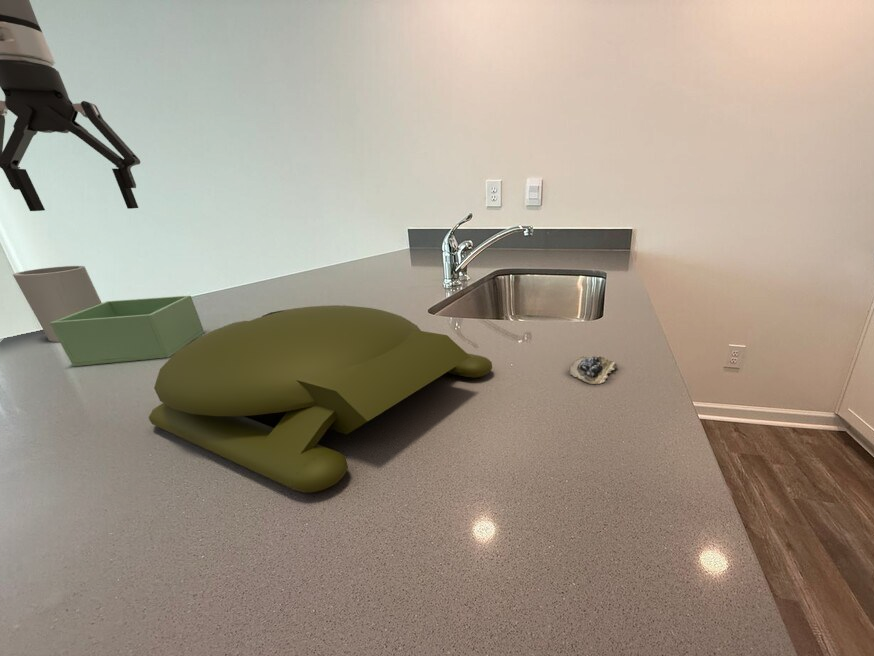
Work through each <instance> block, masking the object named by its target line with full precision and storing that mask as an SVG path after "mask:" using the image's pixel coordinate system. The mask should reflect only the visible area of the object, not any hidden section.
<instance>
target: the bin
mask: <svg viewBox="0 0 874 656" xmlns="http://www.w3.org/2000/svg"><path fill="white" fill-rule="evenodd" d="M50 324H51V326H52V328H53V330H54V332H55V334H56V336H57V337H58V339H59V341H60V342H59V343H60V345H61V347H62V349H63V350H64V352H65V354H66V356H67V357H68V359H69V362H70V363H71V365H72V367H80V366H93V365H103V364H111V363H112V364H113V363H125V362H135V361H145V360H156V359H165V358H166V359H167V358H171V357H172V356H173V355H174V354H175V353H176V352H177V351H178V350H180V349H181V348H183V347H185V346H186V345H188V344H189V343H191V342H192V341H194V340H196V339H197V338H199V337H201V336H202V335H204V334H205V330H204V327H203V325H202V324H203V323H202V322H201V319H200V316H199V313H198V311H197V308H196V306H195V303H194V301H193V298H192V296H191V295H180V296H177V295H176V296H164V297H150V298H149V297H148V298H135V299H133V298H131V299H120V300H107V301H104V302H102V303H101V304H98V305H96V306H93V307H90V308H88V309H85V310H82V311H80V312H77V313H74V314H72V315H69V316H66V317H64V318H61V319H58V320H56V321H53V322H50Z"/></svg>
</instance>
